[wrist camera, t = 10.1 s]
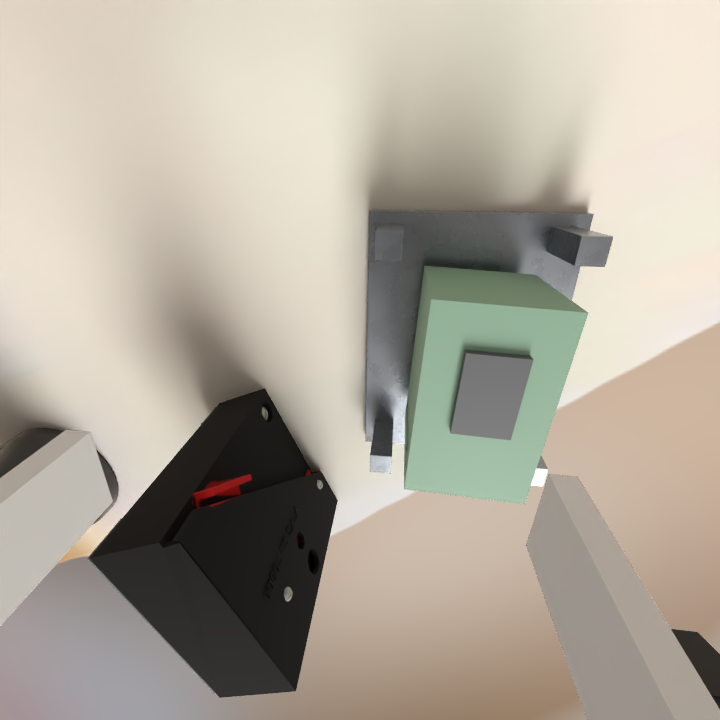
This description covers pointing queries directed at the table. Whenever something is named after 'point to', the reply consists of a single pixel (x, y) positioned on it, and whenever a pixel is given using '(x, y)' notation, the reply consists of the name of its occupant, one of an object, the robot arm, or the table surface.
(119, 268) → the table surface
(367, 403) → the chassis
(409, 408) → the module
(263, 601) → the electrical component
